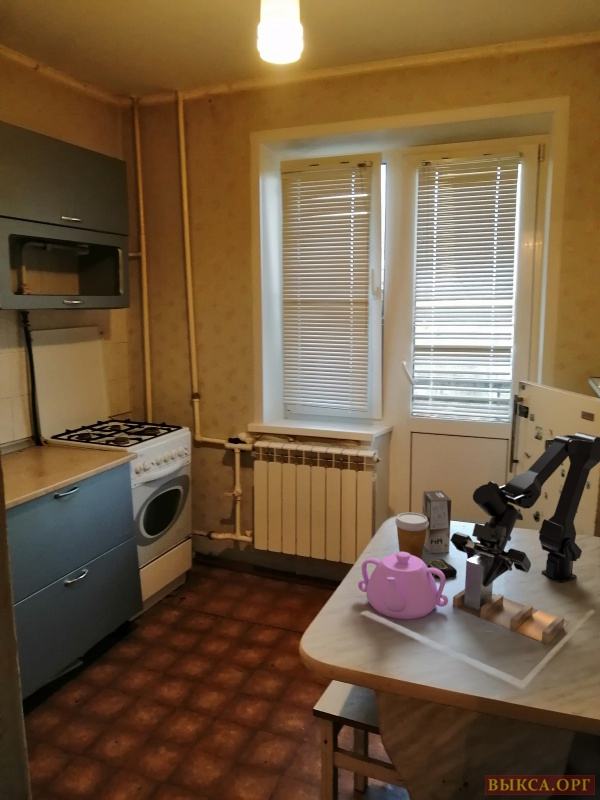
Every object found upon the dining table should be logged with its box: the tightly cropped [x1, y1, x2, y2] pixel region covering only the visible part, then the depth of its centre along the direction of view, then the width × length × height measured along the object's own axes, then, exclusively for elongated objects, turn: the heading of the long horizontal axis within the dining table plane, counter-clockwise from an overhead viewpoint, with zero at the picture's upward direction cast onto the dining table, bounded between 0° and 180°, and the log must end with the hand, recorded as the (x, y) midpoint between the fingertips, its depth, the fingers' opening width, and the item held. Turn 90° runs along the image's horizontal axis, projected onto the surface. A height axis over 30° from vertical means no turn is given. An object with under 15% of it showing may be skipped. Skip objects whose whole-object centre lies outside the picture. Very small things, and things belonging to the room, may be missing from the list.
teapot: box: [357, 551, 449, 620], centre depth 145 cm, size 22×22×14 cm
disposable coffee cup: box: [394, 512, 429, 560], centre depth 174 cm, size 10×10×12 cm
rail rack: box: [452, 588, 570, 645], centre depth 143 cm, size 12×23×4 cm, turn 46°
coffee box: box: [421, 490, 452, 554], centre depth 181 cm, size 9×6×16 cm
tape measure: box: [426, 558, 458, 580], centre depth 163 cm, size 7×7×4 cm
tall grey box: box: [464, 553, 494, 613], centre depth 146 cm, size 6×4×12 cm, turn 136°
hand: (476, 583), depth 144 cm, fingers closed on tall grey box, 4 cm apart
